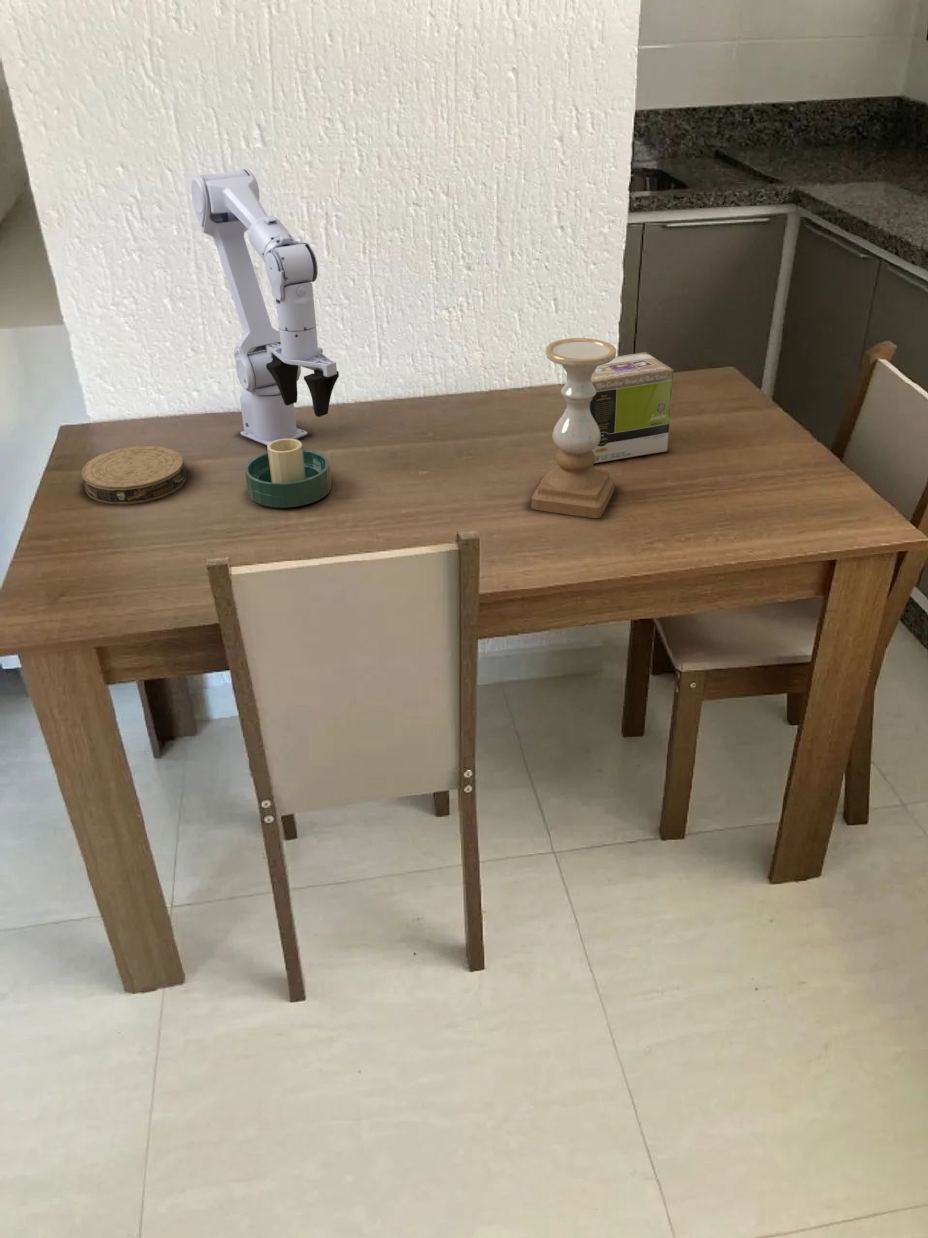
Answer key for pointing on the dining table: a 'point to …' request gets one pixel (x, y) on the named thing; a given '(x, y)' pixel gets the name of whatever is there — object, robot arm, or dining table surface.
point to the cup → (286, 461)
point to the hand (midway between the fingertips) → (306, 409)
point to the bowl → (289, 492)
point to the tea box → (631, 406)
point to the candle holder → (576, 435)
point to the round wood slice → (134, 475)
